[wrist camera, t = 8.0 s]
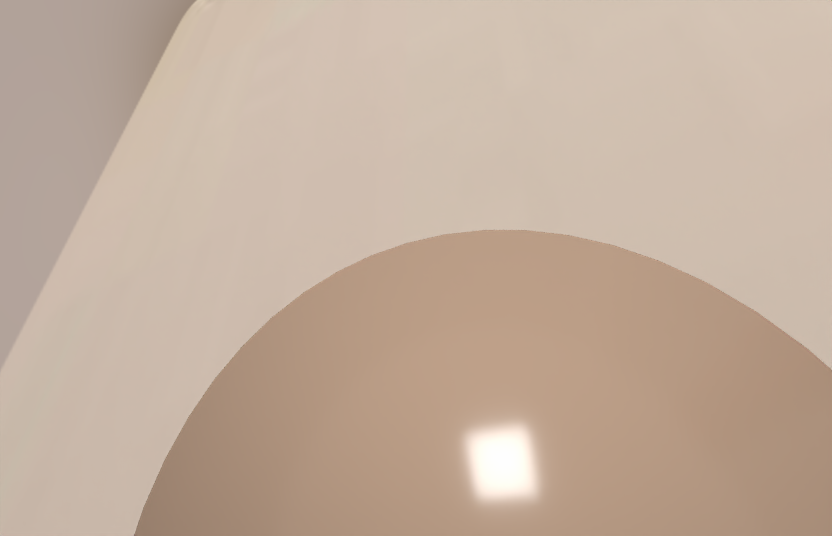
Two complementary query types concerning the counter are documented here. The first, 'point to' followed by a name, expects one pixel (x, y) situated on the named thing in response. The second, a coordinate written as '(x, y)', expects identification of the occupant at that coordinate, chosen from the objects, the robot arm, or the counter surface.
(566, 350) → the spice jar
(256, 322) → the counter surface
